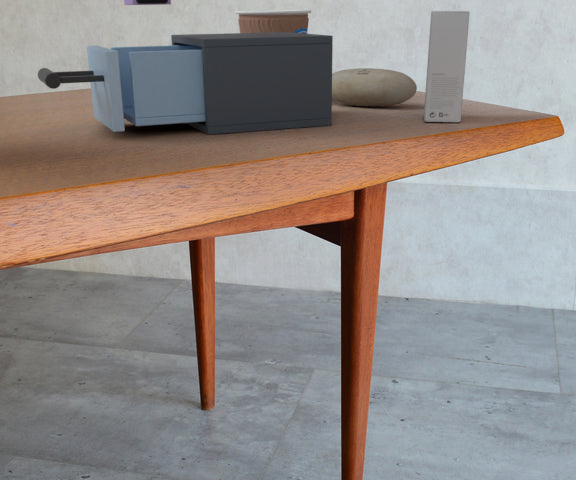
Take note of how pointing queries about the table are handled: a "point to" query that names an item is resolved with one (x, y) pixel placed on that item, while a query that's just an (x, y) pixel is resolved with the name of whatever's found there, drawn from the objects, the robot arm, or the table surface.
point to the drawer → (140, 84)
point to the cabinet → (264, 80)
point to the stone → (372, 87)
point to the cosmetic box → (446, 66)
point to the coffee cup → (273, 21)
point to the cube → (132, 1)
